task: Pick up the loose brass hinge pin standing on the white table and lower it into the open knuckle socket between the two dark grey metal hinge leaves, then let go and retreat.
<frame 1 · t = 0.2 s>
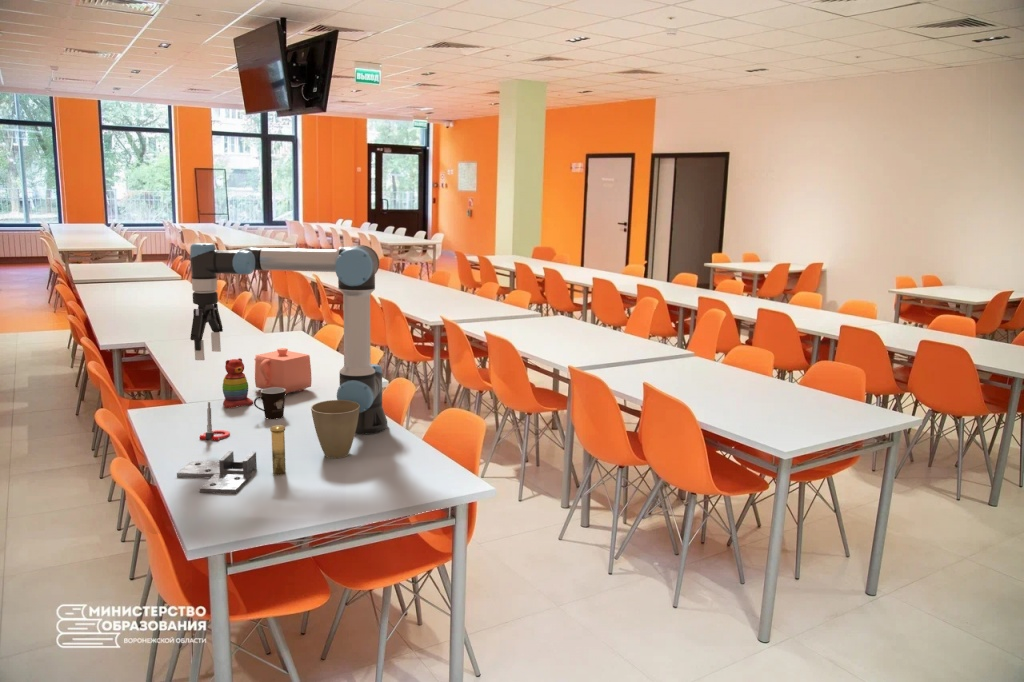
hand: (208, 355, 248), 28 cm above the table, tool pointing down, fingers open, 13 cm apart
coffee mug: (270, 417, 277), on the table
plant pot: (336, 455, 240), on the table
tow hook: (215, 437, 254), on the table
hinge leaves: (238, 472, 223), on the table
brass hinge pin: (279, 473, 223), on the table
stacking bear: (236, 404, 293), on the table
teapot: (277, 390, 315), on the table
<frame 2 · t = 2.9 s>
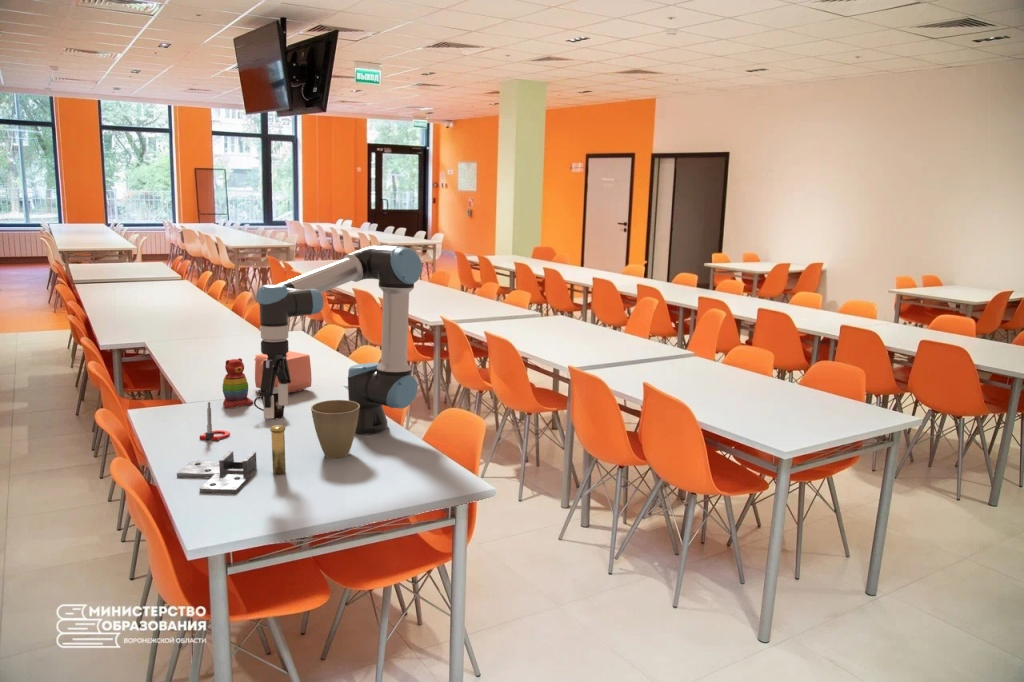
hand: (276, 411, 219), 19 cm above the table, tool pointing down, fingers open, 13 cm apart
nothing on the table moved.
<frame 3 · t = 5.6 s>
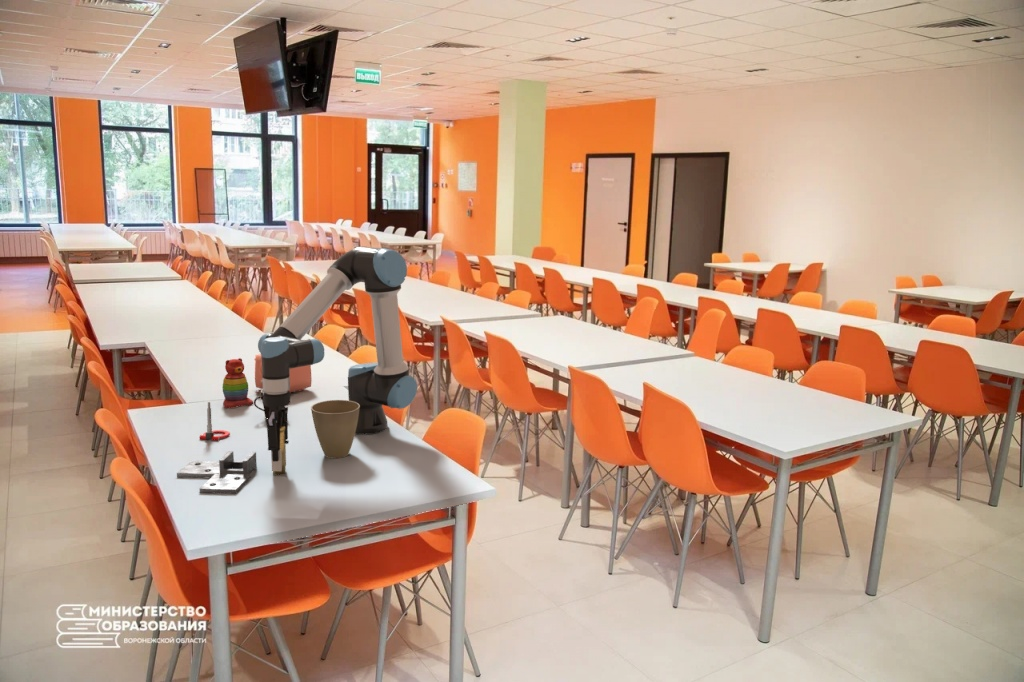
hand: (279, 467, 223), 2 cm above the table, tool pointing down, fingers closed on brass hinge pin, 3 cm apart
brass hinge pin: (279, 473, 223), on the table, touching gripper
everything else where it was.
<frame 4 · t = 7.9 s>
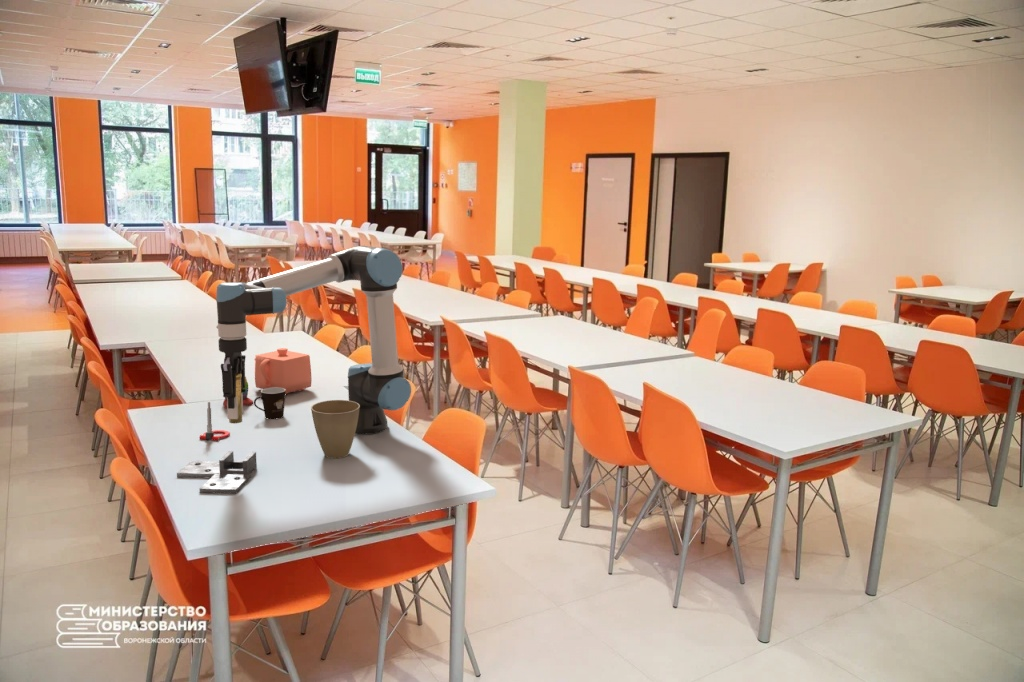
hand: (235, 416, 220), 17 cm above the table, tool pointing down, fingers closed on brass hinge pin, 3 cm apart
brass hinge pin: (235, 421, 220), point 16 cm above the table, touching gripper
everything else where it was.
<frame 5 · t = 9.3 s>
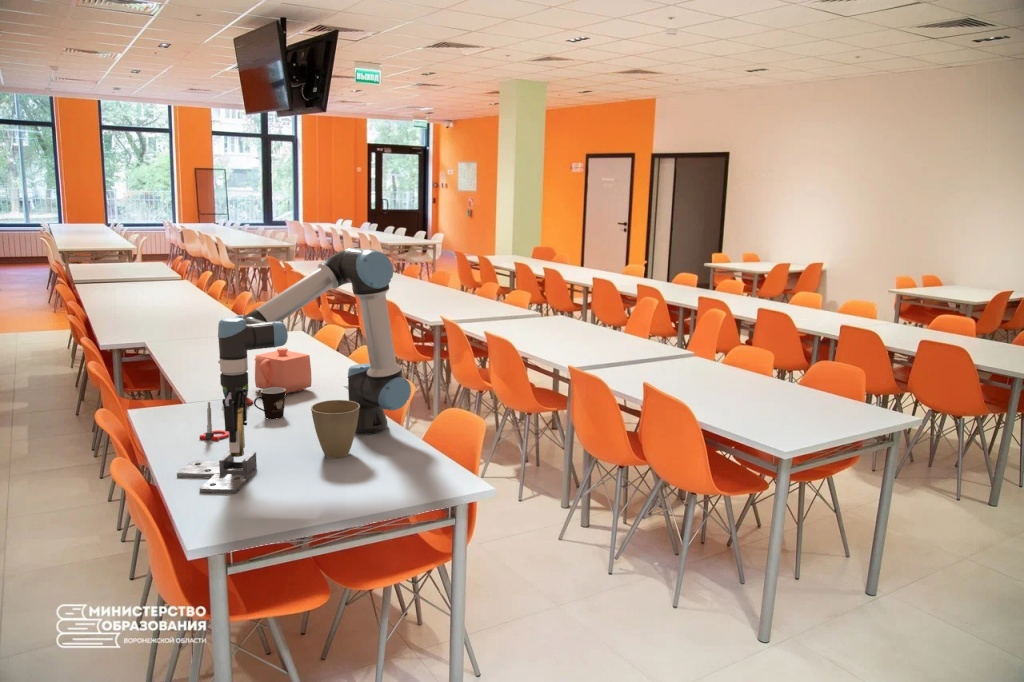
hand: (237, 449, 222), 7 cm above the table, tool pointing down, fingers closed on brass hinge pin, 3 cm apart
brass hinge pin: (237, 454, 222), point 5 cm above the table, touching gripper
everything else where it was.
when the fingers open (3 cm above the table, at t = 10.2 s): brass hinge pin stays where it is, resting in hinge leaves.
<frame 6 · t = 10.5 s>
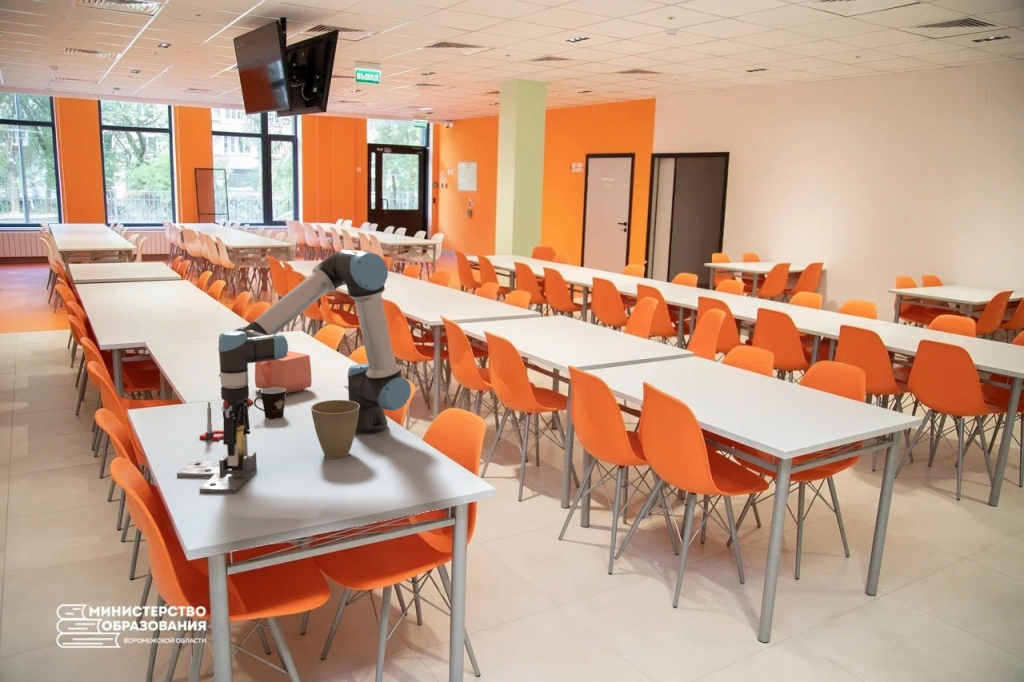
hand: (238, 460, 222), 4 cm above the table, tool pointing down, fingers open, 7 cm apart
brass hinge pin: (238, 472, 223), resting in hinge leaves
everything else where it was.
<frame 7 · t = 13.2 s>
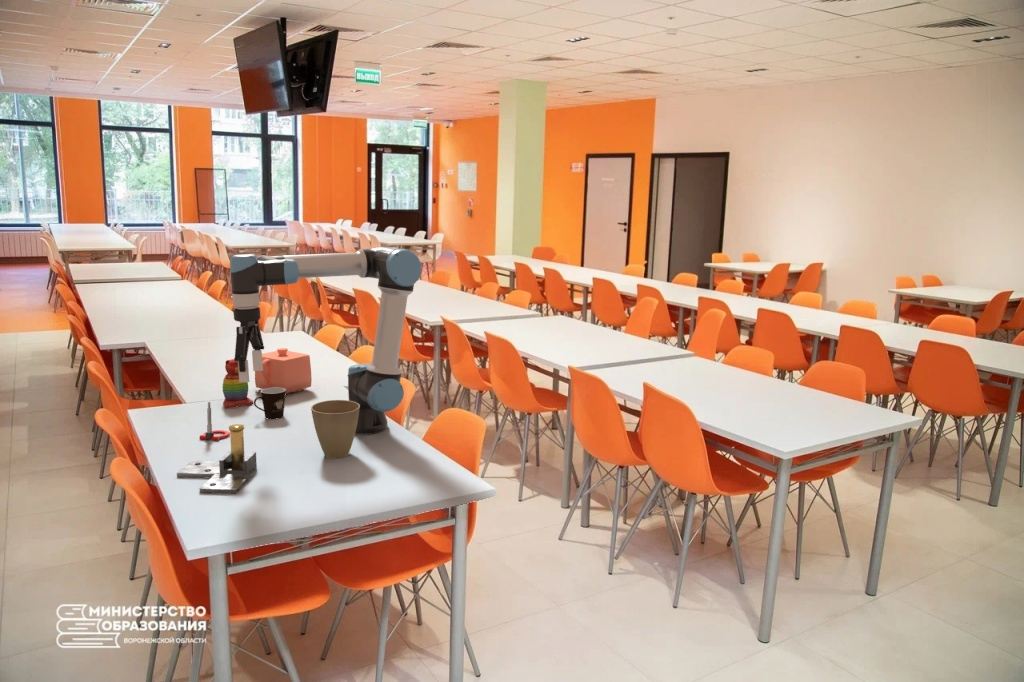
hand: (251, 376, 229), 26 cm above the table, tool pointing down, fingers open, 13 cm apart
nothing on the table moved.
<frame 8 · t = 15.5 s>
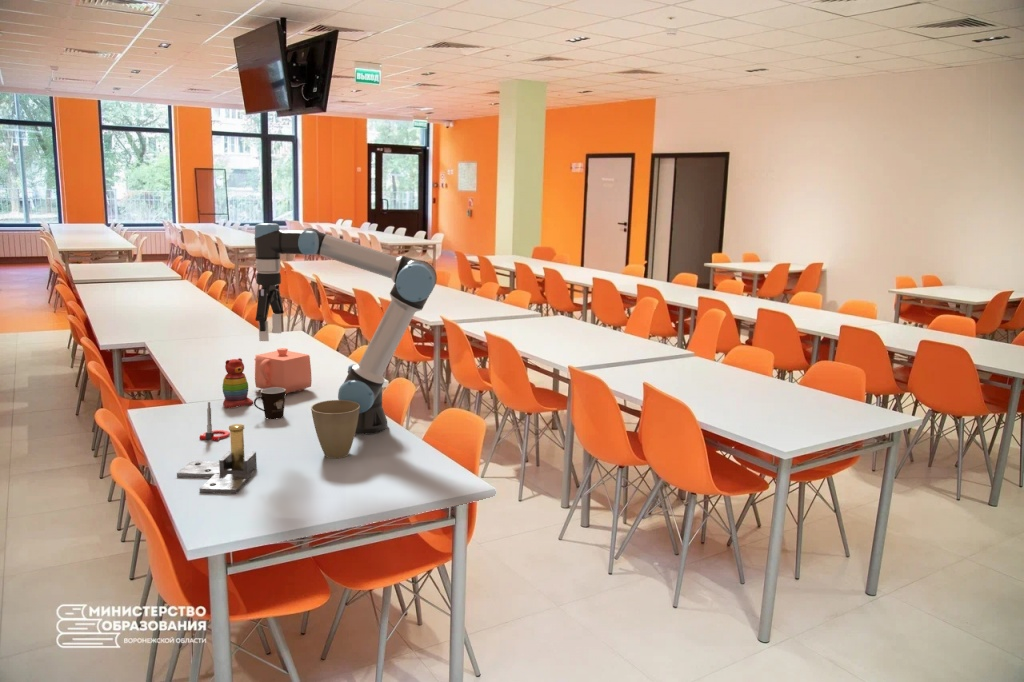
hand: (270, 337, 247), 35 cm above the table, tool pointing down, fingers open, 13 cm apart
nothing on the table moved.
at the end: brass hinge pin 0.0 cm off-centre on the hinge leaves, point 0.0 cm above the hinge leaves's base; brass hinge pin tilted 0°; the gripper is holding nothing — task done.
